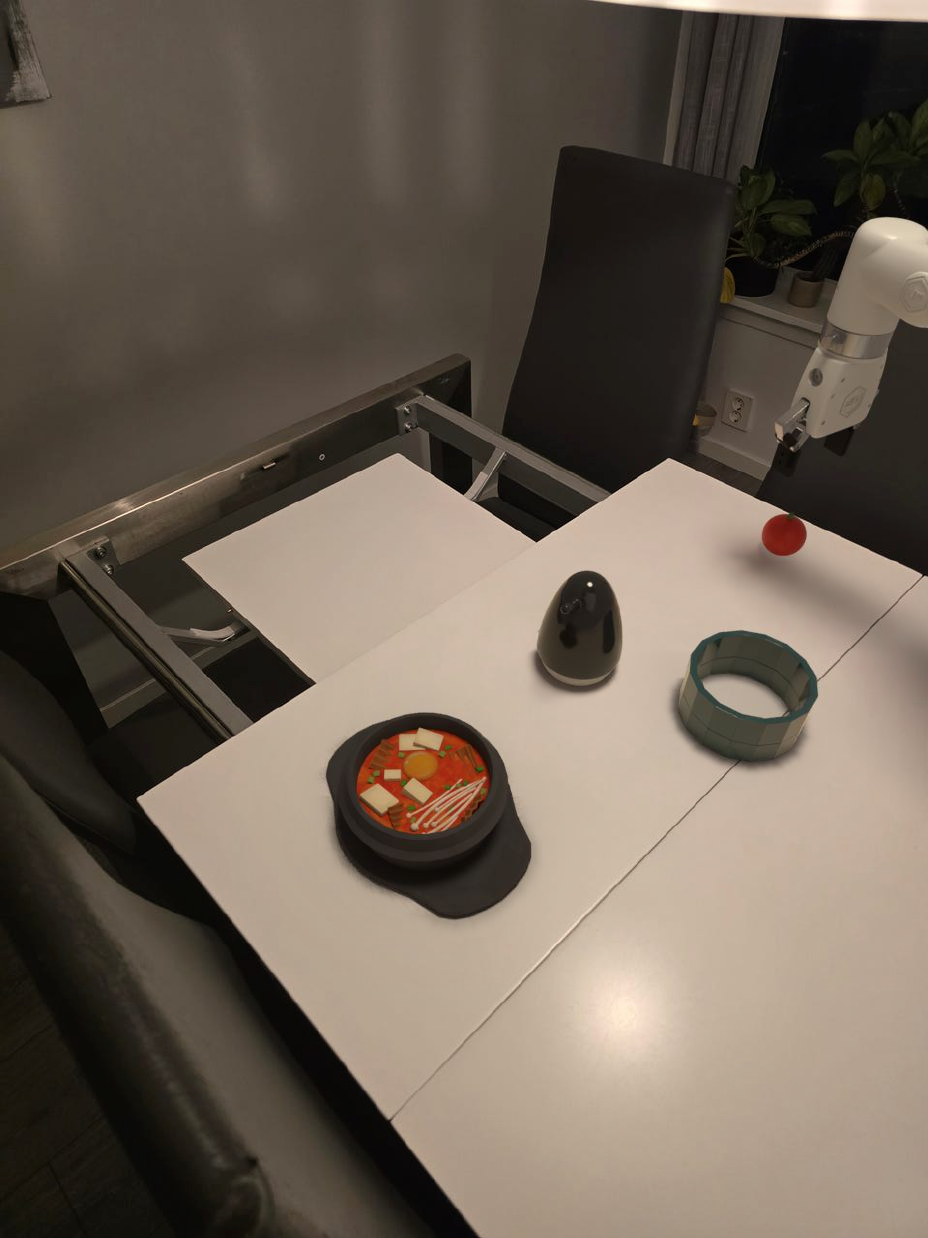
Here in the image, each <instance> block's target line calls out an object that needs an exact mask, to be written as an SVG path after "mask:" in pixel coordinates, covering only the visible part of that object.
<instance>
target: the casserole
mask: <svg viewBox="0 0 928 1238" xmlns="http://www.w3.org/2000/svg"><path fill="white" fill-rule="evenodd" d="M325 775H326V778H327V782H328V786H329V788H330V791H331V796H332V797H333V806H334V807H333V808H334V822H335V831H336V833H337V837H338V839H339V843H340V846H341V847H342V849H343V851H344V853H345V854H346V855H347V858H348V859H349V860H350V861H351V862H352V863H353V864H354V865H355V866H356V867H357V868H358V869H359V870H360V871H361V873H363V874H365V875H367V876H368V877H369V878H370V879H372V880H374V881H375V882H378V883H380V884H382V885H386V886H388V887H390V888H393V889H395V890H397V891H399V892H400V891H401V892H403V893H405V894H408V895H410V896H411V897H413V898H414V899H416V900H418V901H419V902H420V903H422V904H424V905H425V906H427V907H429V908H430V909H432V910H433V911H435V912H437V913H438V914H440V915H446V916H452V917H457V916H458V917H459V916H463V915H464V916H465V915H469V914H473V913H475V912H479V911H481V910H483V909H485V908H488V907H490V906H491V905H493V904H494V903H496V902H498V901H500V900H501V899H503V898H504V897H505V896H506V895H507V894H508V893H509V892H510V891H511V890H513V888H514V887H515V886H516V885H517V884H518V883H519V882H520V880H521V879H522V877H523V876H524V874H525V873H526V871H528V870H527V869H528V867H529V865H530V861H531V859H532V841H531V840H530V838H529V836H528V834H527V832H526V830H525V828H524V826H523V824H522V821H521V818H520V817H519V815H518V812H517V808H516V804H515V800H514V796H513V792H512V788H511V785H510V783H509V776H508V772H507V769H506V764H505V762H504V761H503V758H502V757H501V755H500V753H499V750H498V749H497V748H496V747H495V746H494V745H493V743H491V741H490V740H489V739H488V738H486V737H485V736H484V735H483V734H482V732H480V731H479V730H478V729H476V728H475V727H474V726H472V724H470V723H468V722H466V721H464V720H462V719H460V718H458V717H455V716H451V715H448V714H445V713H438V712H430V711H429V712H421V711H419V712H413V713H406V714H403V715H399V716H395V717H392V718H390V719H386V720H383V721H379V722H377V723H376V722H375V723H373V724H371V725H369V726H366V727H364V728H363V729H360V730H359V731H357V732H356V733H354V734H352V735H351V737H349V738H347V739H346V740H345V741H344V742H343V743H341V745H340V746H339V747H338V748H337V749H336V750H335V751H334V753H333V754H332V756H331V757H330V759H329V760H328V762H327V766H326V771H325Z"/></svg>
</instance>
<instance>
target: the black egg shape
mask: <svg viewBox="0 0 928 1238" xmlns="http://www.w3.org/2000/svg"><path fill="white" fill-rule="evenodd" d="M554 593H555V594H554V595H553V597H552V599H551V600H550V603H549V604H548V606H547V608H546V611H545V613H544V615H543V618H542V621H541V624H540V627H539V631H538V634H537V639H536V650H537V654H538V656H539V659H540V660H541V662H542V665H543V666H544V668H545V670H546V671H547V672H548V673H549V674H550V675H551V677H552V678H554V679H556V680H557V681H559V682H561V683H563V684H566V685H569V686H576V687H588V686H591V685H595V684H598V683H599V682H601V681H602V680H604V679H605V678H606V677H608V676H609V675H610V674H611V672H612V671H613V670H615V668H616V667H617V665H619V662H620V660H621V657H622V652H623V645H624V644H623V641H624V640H623V637H624V636H623V633H624V632H623V620H622V614H621V610H620V605H619V601H618V597H617V595H616V593H615V589H614V588H613V586H612V585H611V583H610V582H609V580H608V579H607V578H606V577H605V576H604V575H603V574H601V573H599V572H597V571H594V570H587V569H586V570H580V571H577V572H575V573H573V574H571V575H570V576H568V578H566V580H564V581H563V583H562V584H561V585H560V586H559V588H558V589H557V590H556V592H554Z"/></svg>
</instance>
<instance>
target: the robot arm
mask: <svg viewBox="0 0 928 1238" xmlns="http://www.w3.org/2000/svg"><path fill="white" fill-rule="evenodd" d="M828 308H829V309H828V312H827V314H826V317H825V320H824V322H823V325H822V328H821V331H820V333H819V337H818V340H817V347H816V348H815V349H814V352H813V354H812V355H811V357H810V360H809V361H808V362H807V365H806V368H805V369H804V372H803V374H802V376H801V378H800V381H799V383H798V386H797V388H796V391H795V393H794V395H793V399H792V401H791V405H790V408H789V409H788V410H787V411H785V413H783V414H782V415H781V416H780V417H778V418H777V419H776V420H775V422H774V428H775V433H774V437H775V438H776V442H777V447H776V450H775V453H774V456H773V459H772V461H771V467H772V468H773V470H775V471H777V472H779V473H780V474H781V475H783V476H784V477H786V478H788V479H789V478H791V477H793V476H794V474H795V471H796V468H797V466H798V463H799V460H800V457H801V455H802V452H803V451H802V450H801V449H800V448H801V447H802V446H803V445H804V443H805V442H806V441H807V440H808V439H809V438H810V437H811V438H813V439H820V438H824V437H825V439H824V442H823V447H824V448H825V449H827V450H828V451H830V452H832V453H833V454H835V455H836V456H838V457H843V456H845V455H846V454H847V451H848V449H849V447H850V444H851V441H852V439H853V436H854V434H855V432H856V429H857V428H858V427H860V426H861V423H862V422H863V421H865V419H866V418H867V416H868V415H869V413H870V410H871V408H872V405H873V402H874V400H875V399H876V397H877V396H878V394H879V393H880V389H879V385H880V382H881V379H882V376H883V372H884V369H885V365H886V361H887V356H888V349H889V345H890V343H891V340H892V338H893V336H894V334H895V331H896V328H897V326H898V325H899V324H898V323H899V321H900V320H902V321H904V322H905V323H907V324H908V325H911V326H914V327H917V328H923V329H924V328H925V329H928V229H927V228H926V227H925V226H923V225H922V224H919V223H918V222H915V221H913V220H909V219H906V218H899V217H892V216H891V217H889V216H884V217H883V216H882V217H876V218H871V219H869V220H867V221H865V222H863V223H862V224H861V225H860V226H859V227H858V228H857V230H856V232H855V234H854V237H853V239H852V242H851V244H850V248H849V250H848V252H847V255H846V259H845V262H844V265H843V267H842V270H841V274H840V276H839V279H838V281H837V285H836V288H835V291H834V294H833V296H832V299H831V302H830V306H829V307H828ZM803 421H805V424H803V423H802V422H803ZM796 429H798V430H799V431H800V432H801V433H800V434H799V435H798V436H797V437H796V438H795V437H794V435H793V434H792V433H793V432H794V431H795V430H796Z"/></svg>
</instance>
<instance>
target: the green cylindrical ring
mask: <svg viewBox="0 0 928 1238" xmlns="http://www.w3.org/2000/svg"><path fill="white" fill-rule="evenodd" d="M723 674H733V675H737V676H744V677H747V678H751V679H753V680H755V681H757V682H759V683H761V684H763V685H765V686H766V687H769V688H770V689H771V690H772V691H773V692H774V693H775V694H776V695H778V696H779V697H780V698H781V699H782V701H783V702H784V704H785V706H786V707H787V709H788V712H789V714H787V715H784V716H775V717H774V716H773V717H766V718H765V717H760V716H756V715H750V714H744V713H741V712H739V711H738V710H735V709H733V708H731V707H729V706H727V705H725V704H723V703H721V702H720V701H719V700H717V699H716V697H715V696H714V695H712V694H711V693H710V692H709V691H708V689H706V688H705V686H704V684H703V682H702V679H703V680H704V679H705V678H706V677H709V676H711V675H712V676H713V675H723ZM818 688H819V687H818V677H817V675H816V674H815V672H814V670H813V669H812V667H811V666H810V664H809V662H808V660H807V659H806V658H804V657H803V656H802V655H801V654H800V653H798V652H797V651H796V650H795V649H794V648H793V647H791V646H790V645H789V644H787V643H785V642H783V641H780V639H777V638H774V637H772V636H770V635H768V634H766V633H759V632H755V631H749V630H743V629H739V630H727V631H719V632H717V633H714V634H712V635H710V636H708V637H706V638H704V639H701V641H700V642H699V643H698V644H697V646H696V647H695V648H694V649H693V651H692V652H691V654H690V656H689V659H688V663H687V666H686V670H685V672H684V676H683V680H682V683H681V686H680V689H679V694H678V704H677V711H678V713H679V715H680V717H681V720H682V722H683V725H684V727H685V729H687V731H688V732H690V734H691V735H692V736H693V737H694V738H695V739H696V740H697V741H698V742H699V743H700V744H701V745H702V746H705V747H706V748H708V749H710V750H712V751H714V752H715V753H718V754H719V755H721V756H723V757H726V758H730V759H735V760H740V761H745V762H758V761H759V762H760V761H767V760H774V759H776V758H778V757H780V756H781V755H783V754H784V753H786V752H788V751H790V750H791V749H792V748H793V746H794V744H795V742H796V741H797V739H798V737H799V736H800V734H801V731H802V730H803V728H804V725H805V724H806V722H807V719H808V718H809V715H810V714H811V712H812V709H813V707H814V706H815V704H816V701H817V700H818V697H819V689H818Z"/></svg>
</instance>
